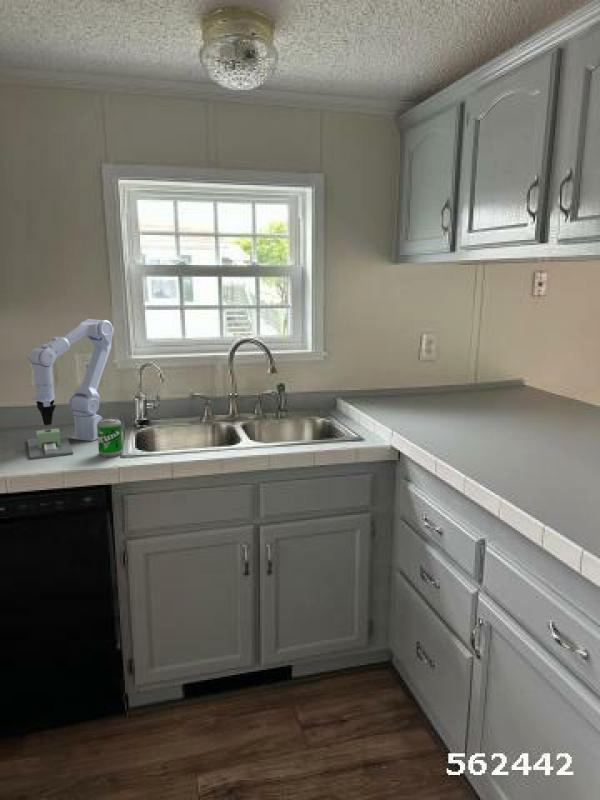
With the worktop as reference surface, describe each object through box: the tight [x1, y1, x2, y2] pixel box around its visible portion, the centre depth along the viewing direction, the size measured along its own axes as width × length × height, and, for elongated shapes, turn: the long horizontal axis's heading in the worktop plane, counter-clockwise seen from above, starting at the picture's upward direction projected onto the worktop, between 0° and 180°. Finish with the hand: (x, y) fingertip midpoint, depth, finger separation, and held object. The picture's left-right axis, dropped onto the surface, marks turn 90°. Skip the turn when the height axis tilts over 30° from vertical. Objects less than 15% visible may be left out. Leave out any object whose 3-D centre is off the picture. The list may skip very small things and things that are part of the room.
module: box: [36, 428, 61, 449], centre depth 189 cm, size 7×5×6 cm
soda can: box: [97, 417, 123, 458], centre depth 182 cm, size 8×8×12 cm
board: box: [26, 435, 74, 460], centre depth 189 cm, size 13×22×2 cm, turn 28°
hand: (47, 423), depth 187 cm, fingers open, 5 cm apart
